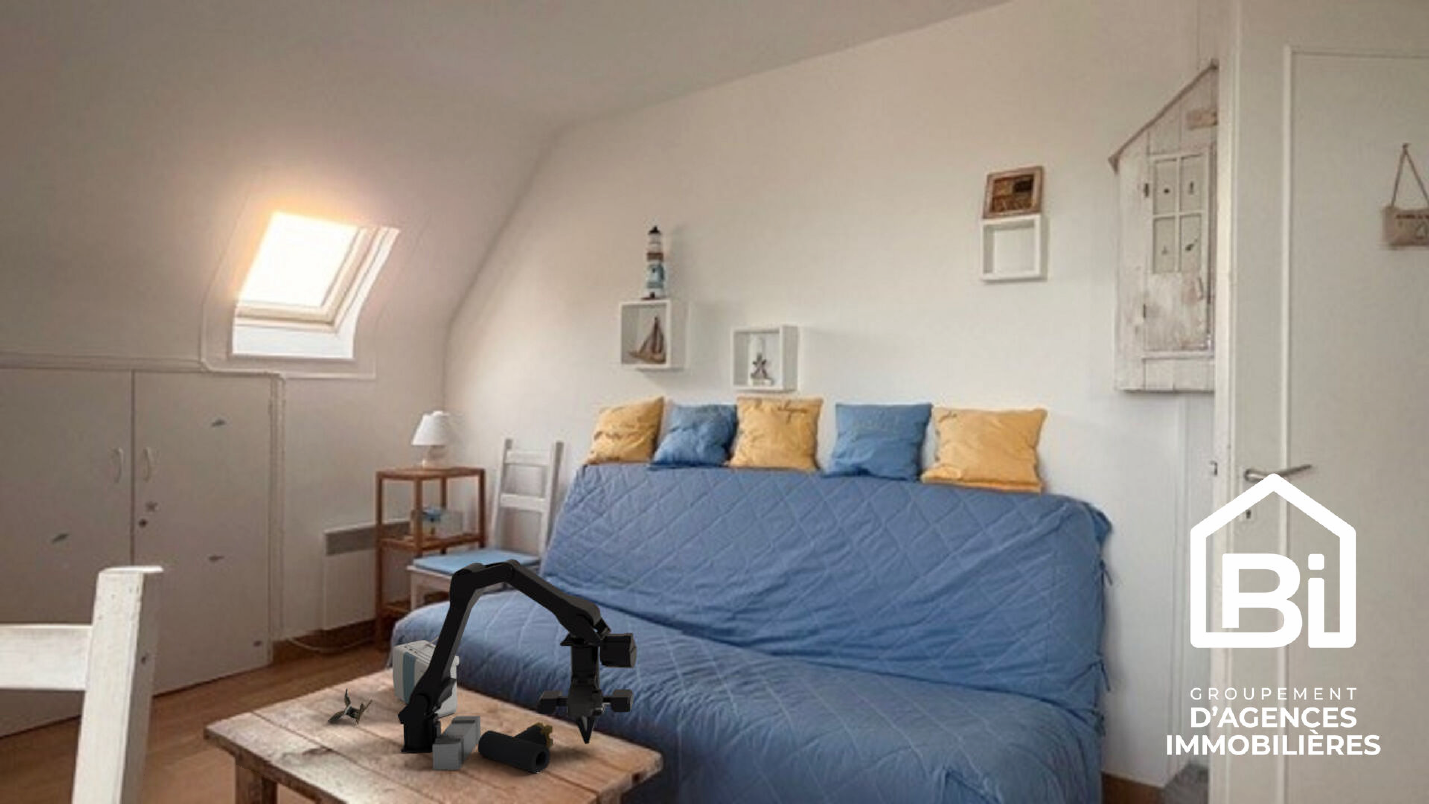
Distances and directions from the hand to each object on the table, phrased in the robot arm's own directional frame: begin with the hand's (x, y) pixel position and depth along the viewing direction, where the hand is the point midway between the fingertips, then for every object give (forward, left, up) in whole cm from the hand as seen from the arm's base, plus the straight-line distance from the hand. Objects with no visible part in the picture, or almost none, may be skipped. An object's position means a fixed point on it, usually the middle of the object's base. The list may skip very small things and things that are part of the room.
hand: (587, 743), depth 163 cm
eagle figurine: (-58, +18, -2) cm, 61 cm away
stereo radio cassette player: (-43, +26, -2) cm, 50 cm away
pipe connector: (-12, -1, -2) cm, 12 cm away
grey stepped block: (-26, 0, -2) cm, 27 cm away
